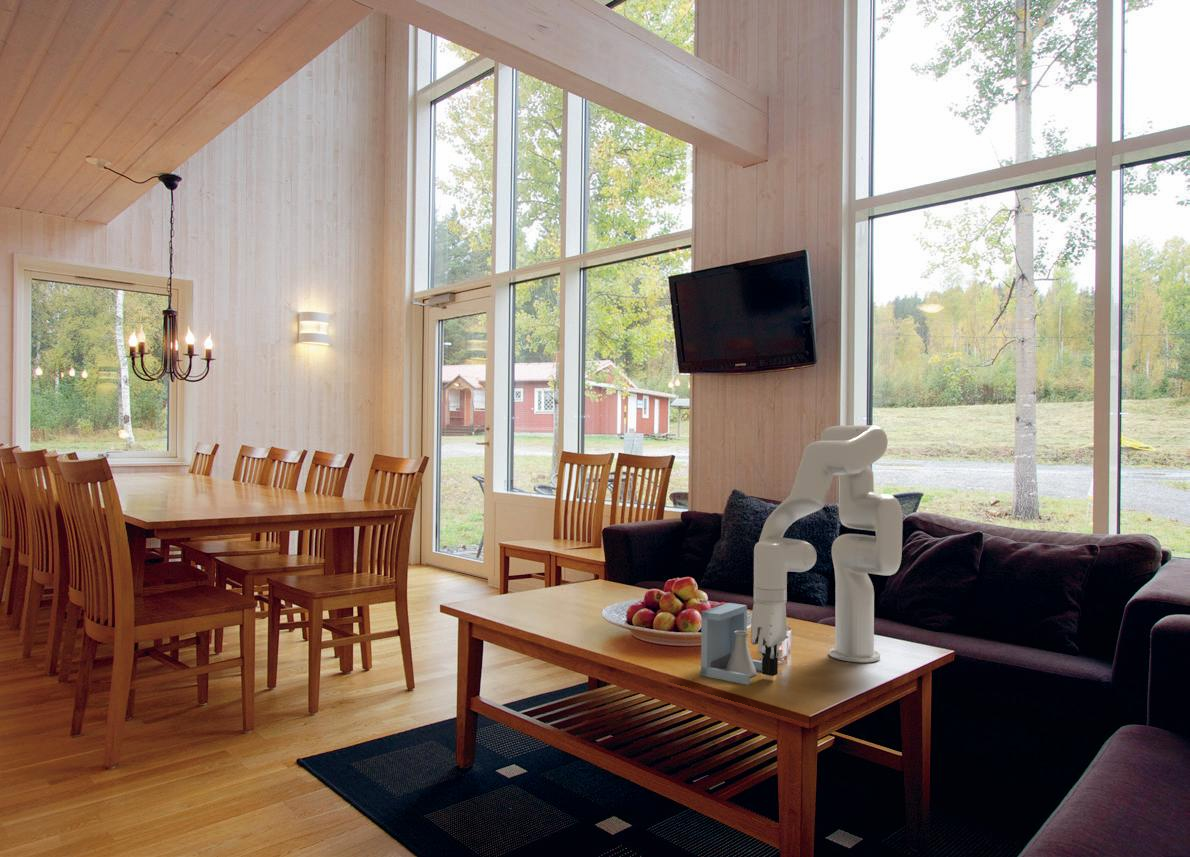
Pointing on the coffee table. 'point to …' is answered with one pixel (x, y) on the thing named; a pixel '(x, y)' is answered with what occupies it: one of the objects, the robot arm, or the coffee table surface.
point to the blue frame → (722, 641)
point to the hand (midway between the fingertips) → (769, 674)
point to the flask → (741, 656)
